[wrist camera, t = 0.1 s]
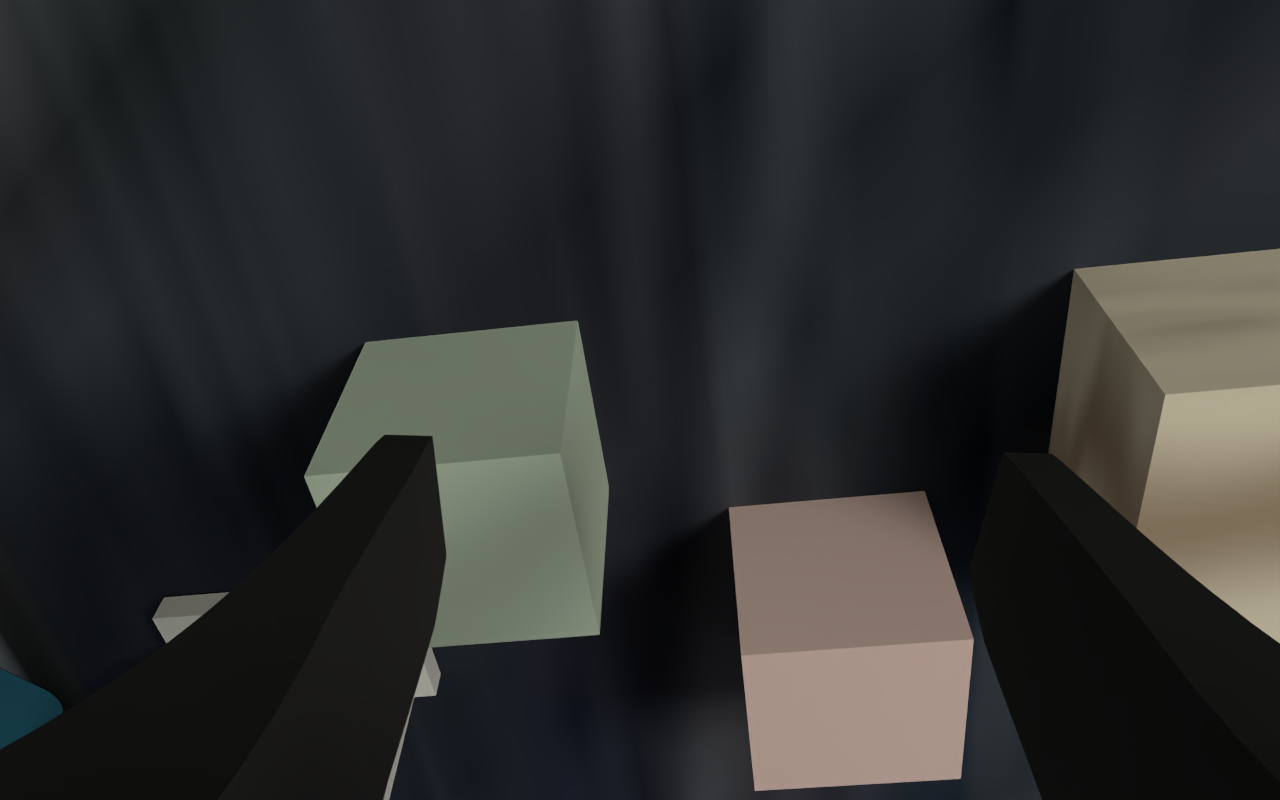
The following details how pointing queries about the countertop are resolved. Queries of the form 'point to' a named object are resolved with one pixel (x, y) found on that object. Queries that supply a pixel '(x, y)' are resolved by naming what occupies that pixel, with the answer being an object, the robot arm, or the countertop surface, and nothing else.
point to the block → (23, 707)
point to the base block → (1183, 413)
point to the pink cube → (850, 642)
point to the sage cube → (492, 472)
